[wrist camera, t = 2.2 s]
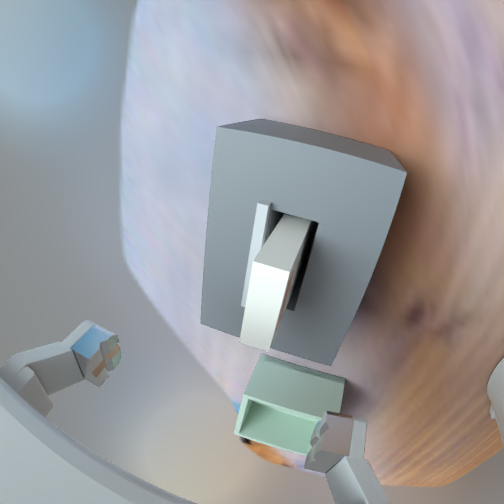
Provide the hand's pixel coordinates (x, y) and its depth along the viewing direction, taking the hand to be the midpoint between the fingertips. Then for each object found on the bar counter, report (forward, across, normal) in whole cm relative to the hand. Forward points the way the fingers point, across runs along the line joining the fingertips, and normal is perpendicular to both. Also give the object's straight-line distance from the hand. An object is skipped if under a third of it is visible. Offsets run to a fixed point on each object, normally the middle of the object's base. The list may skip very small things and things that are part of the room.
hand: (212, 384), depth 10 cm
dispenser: (+17, -1, 0) cm, 17 cm away
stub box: (+17, -5, +22) cm, 28 cm away
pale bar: (+16, -1, 0) cm, 16 cm away
